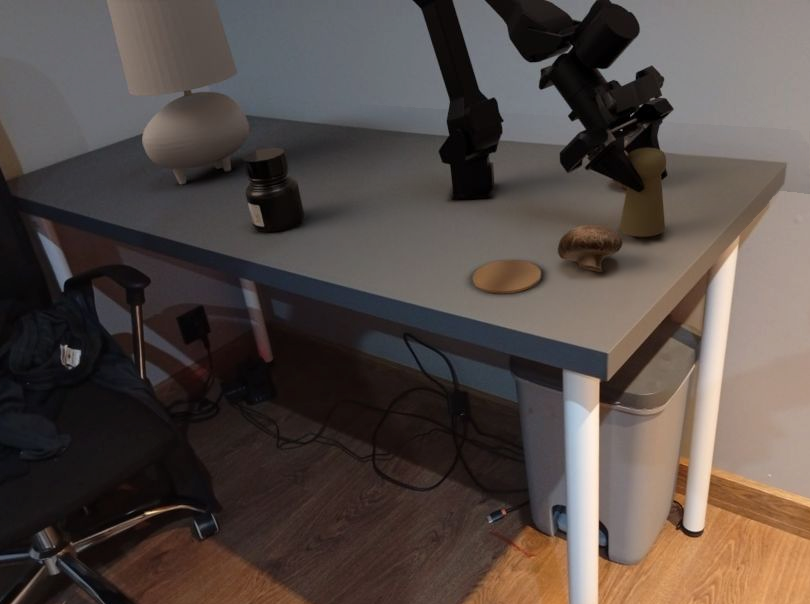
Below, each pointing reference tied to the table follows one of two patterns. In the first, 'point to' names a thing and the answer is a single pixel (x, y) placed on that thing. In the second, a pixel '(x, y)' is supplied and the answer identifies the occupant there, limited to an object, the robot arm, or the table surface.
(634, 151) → the pepper shaker
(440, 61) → the robot arm
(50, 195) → the table surface
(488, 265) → the coaster
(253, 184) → the ink bottle
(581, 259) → the mushroom
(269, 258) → the table surface
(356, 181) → the table surface
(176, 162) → the table lamp
